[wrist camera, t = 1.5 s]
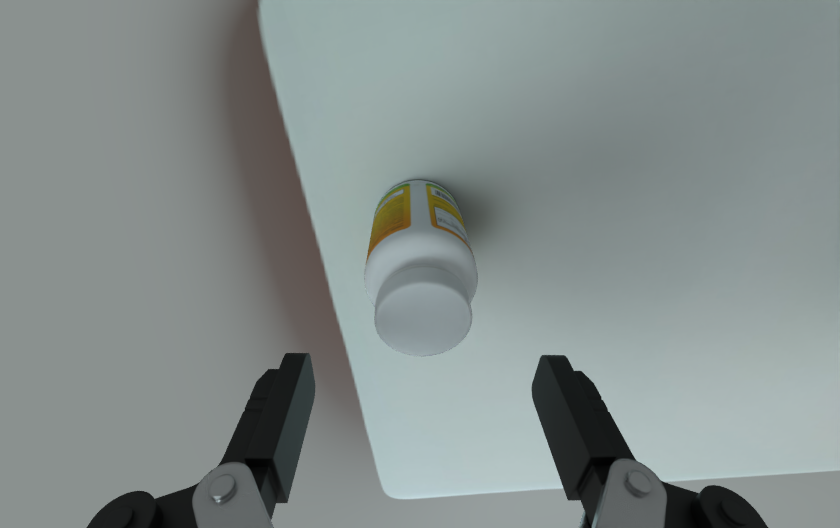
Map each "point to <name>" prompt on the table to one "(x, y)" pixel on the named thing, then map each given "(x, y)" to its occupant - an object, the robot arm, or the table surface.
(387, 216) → the supplement bottle
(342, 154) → the table surface
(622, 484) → the robot arm
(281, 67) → the table surface
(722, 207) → the table surface
